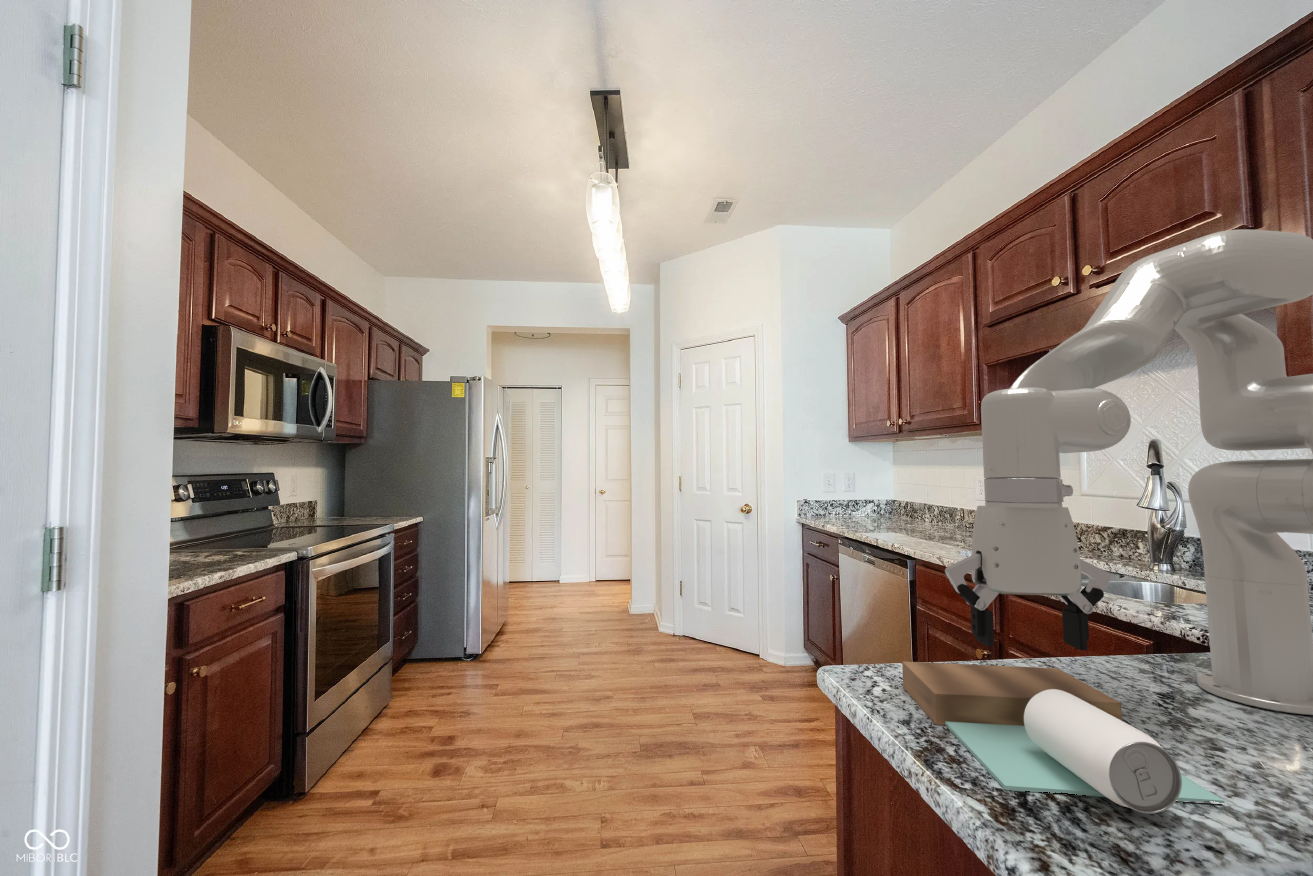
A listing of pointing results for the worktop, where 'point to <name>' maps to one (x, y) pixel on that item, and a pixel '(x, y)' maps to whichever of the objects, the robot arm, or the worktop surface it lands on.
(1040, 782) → the mat
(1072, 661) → the worktop surface
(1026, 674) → the board
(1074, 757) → the can
